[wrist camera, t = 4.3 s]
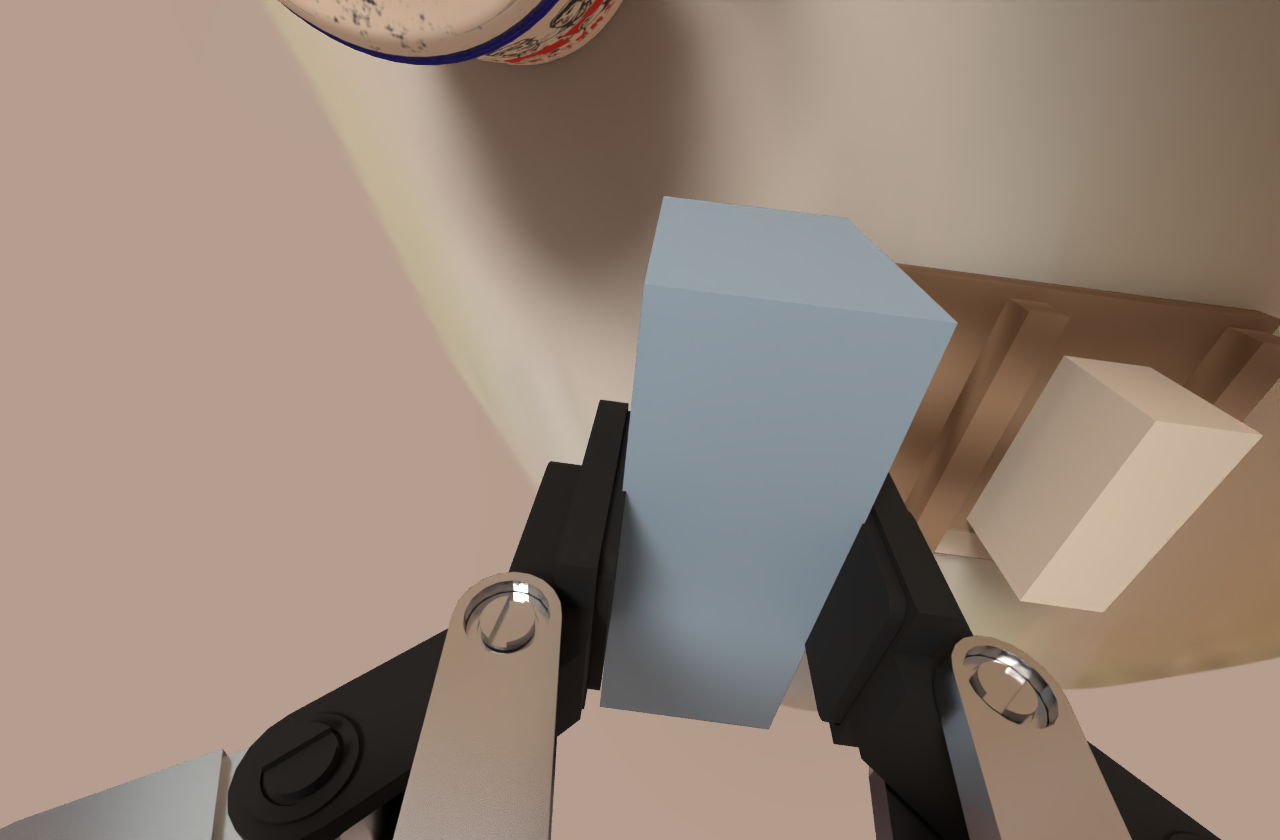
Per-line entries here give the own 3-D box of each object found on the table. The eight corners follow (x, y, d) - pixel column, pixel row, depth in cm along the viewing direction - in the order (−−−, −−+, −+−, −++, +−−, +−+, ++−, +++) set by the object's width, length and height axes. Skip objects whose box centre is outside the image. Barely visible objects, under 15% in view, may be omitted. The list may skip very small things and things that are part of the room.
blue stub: (663, 196, 10) (644, 283, 6) (846, 218, 10) (958, 322, 6) (625, 530, 15) (599, 706, 11) (747, 546, 15) (768, 729, 11)
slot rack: (782, 248, 21) (793, 266, 19) (1259, 311, 21) (1323, 336, 19) (717, 510, 29) (719, 543, 26) (1067, 557, 28) (1097, 595, 26)
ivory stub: (1064, 355, 21) (1156, 421, 17) (1149, 367, 21) (1263, 435, 17) (966, 518, 26) (1019, 601, 22) (1036, 528, 26) (1103, 612, 22)
